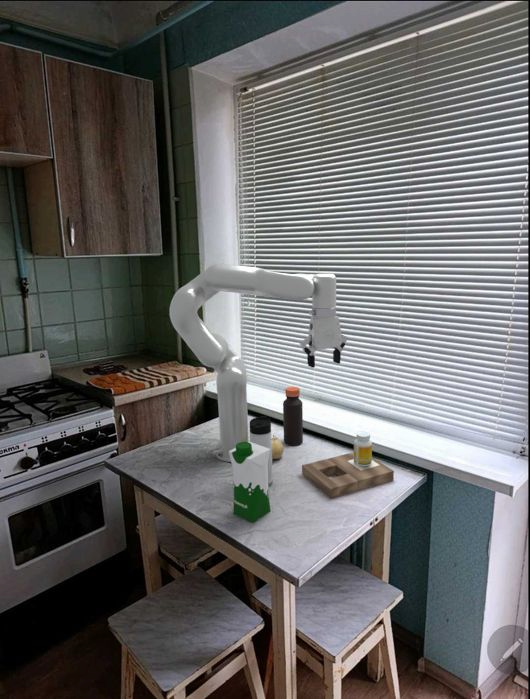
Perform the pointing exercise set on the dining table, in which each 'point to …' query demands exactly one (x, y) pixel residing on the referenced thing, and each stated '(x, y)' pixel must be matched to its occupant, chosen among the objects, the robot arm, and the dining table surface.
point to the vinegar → (293, 417)
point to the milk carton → (250, 480)
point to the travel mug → (262, 438)
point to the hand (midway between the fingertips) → (324, 364)
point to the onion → (276, 448)
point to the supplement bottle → (363, 449)
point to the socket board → (345, 475)
